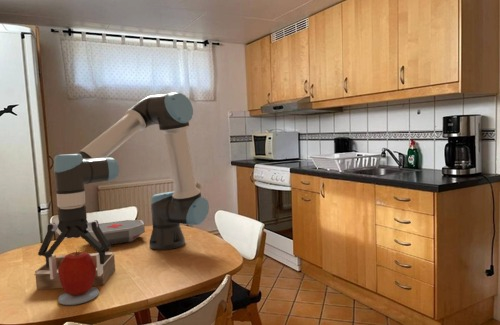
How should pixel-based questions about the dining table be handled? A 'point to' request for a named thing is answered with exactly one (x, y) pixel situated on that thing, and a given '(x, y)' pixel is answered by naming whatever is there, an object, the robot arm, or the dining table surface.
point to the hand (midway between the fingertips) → (77, 276)
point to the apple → (77, 273)
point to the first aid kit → (120, 231)
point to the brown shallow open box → (47, 283)
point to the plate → (78, 297)
